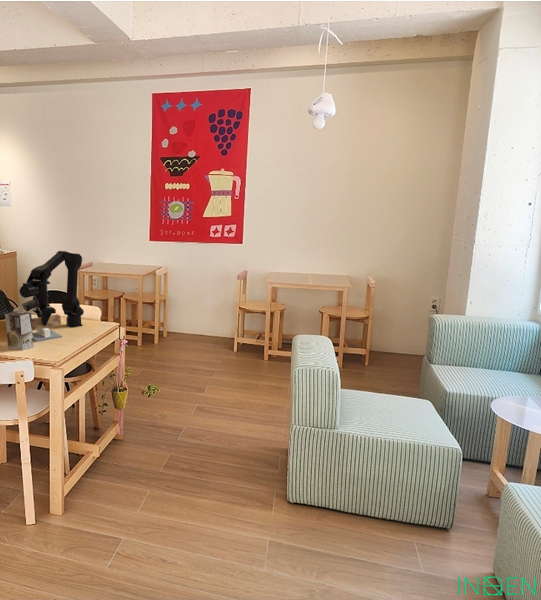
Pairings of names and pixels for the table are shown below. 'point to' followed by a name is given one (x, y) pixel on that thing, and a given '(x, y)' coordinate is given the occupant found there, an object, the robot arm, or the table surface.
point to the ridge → (45, 335)
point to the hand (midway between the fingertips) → (43, 324)
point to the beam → (53, 321)
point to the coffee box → (19, 330)
